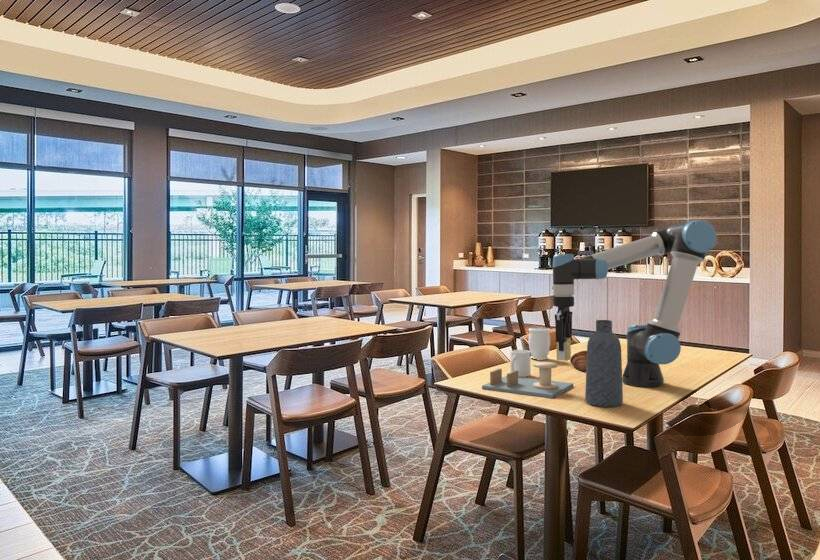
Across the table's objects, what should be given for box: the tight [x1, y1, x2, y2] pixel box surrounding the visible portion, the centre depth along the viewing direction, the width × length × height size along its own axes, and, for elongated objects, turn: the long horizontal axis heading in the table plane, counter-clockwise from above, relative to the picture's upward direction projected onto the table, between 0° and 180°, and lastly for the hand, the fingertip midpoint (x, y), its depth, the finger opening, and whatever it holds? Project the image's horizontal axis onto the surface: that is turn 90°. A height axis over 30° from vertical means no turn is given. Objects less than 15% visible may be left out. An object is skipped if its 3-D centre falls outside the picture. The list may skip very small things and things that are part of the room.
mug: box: [509, 349, 531, 378], centre depth 243 cm, size 12×8×10 cm
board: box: [481, 361, 574, 399], centre depth 222 cm, size 28×22×10 cm
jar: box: [528, 327, 551, 360], centre depth 283 cm, size 11×10×15 cm
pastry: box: [569, 350, 587, 373], centre depth 260 cm, size 17×15×8 cm
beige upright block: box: [556, 337, 572, 362], centre depth 214 cm, size 4×4×8 cm
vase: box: [584, 319, 624, 408], centre depth 197 cm, size 12×12×28 cm
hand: (564, 358), depth 214 cm, fingers closed on beige upright block, 4 cm apart
